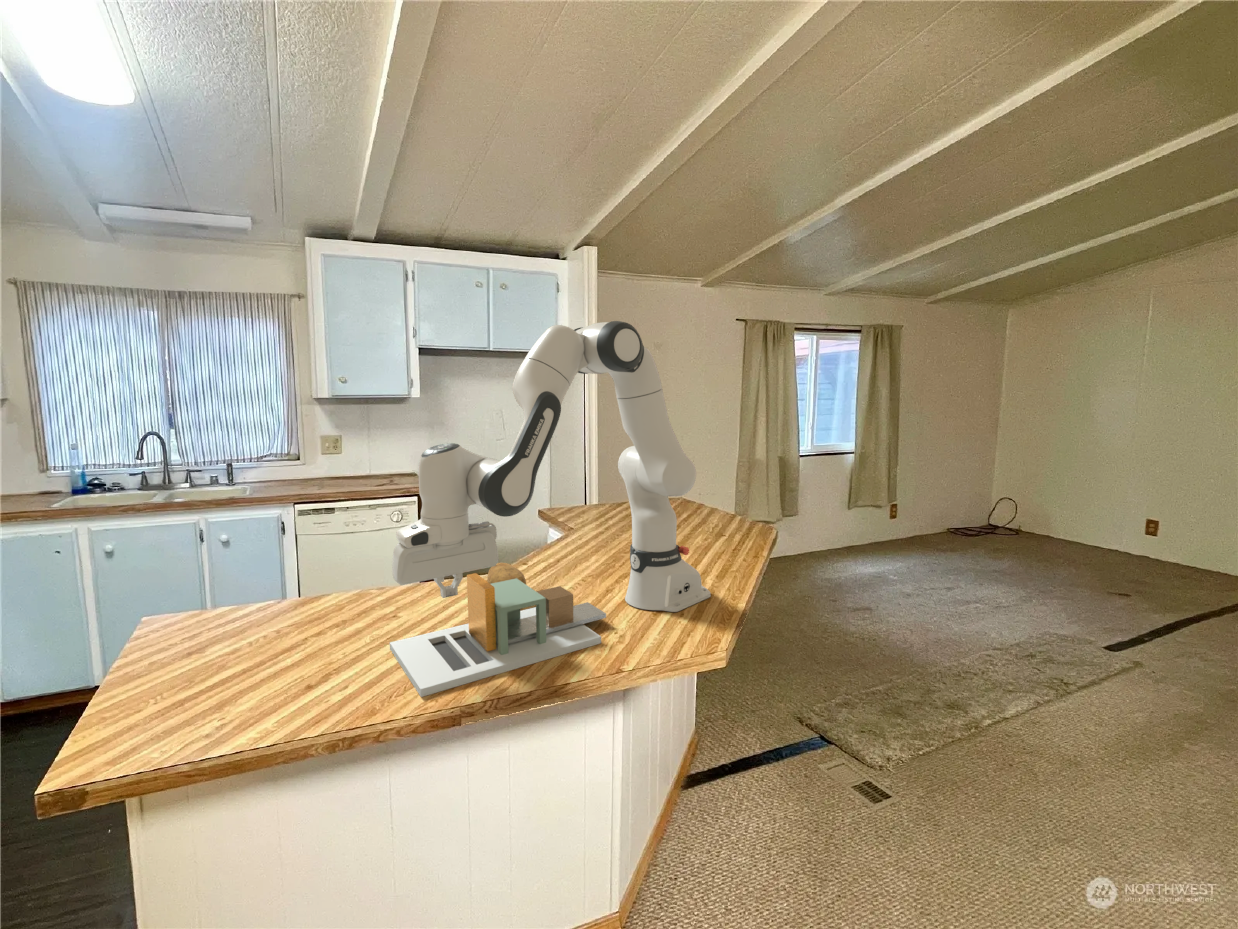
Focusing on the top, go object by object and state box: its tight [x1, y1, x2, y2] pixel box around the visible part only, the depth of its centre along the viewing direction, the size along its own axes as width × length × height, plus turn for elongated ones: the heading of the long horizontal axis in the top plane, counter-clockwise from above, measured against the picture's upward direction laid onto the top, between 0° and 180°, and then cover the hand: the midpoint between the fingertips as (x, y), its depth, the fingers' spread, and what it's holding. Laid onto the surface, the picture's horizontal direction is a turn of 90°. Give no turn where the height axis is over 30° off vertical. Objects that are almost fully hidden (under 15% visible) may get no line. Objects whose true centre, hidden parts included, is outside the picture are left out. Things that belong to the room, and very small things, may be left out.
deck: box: [389, 606, 602, 698], centre depth 125 cm, size 38×22×2 cm, turn 124°
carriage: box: [466, 572, 607, 652], centre depth 129 cm, size 29×10×13 cm, turn 124°
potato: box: [486, 562, 527, 585], centre depth 151 cm, size 10×14×8 cm
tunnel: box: [491, 578, 546, 655], centre depth 125 cm, size 10×14×10 cm
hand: (449, 595), depth 117 cm, fingers closed
